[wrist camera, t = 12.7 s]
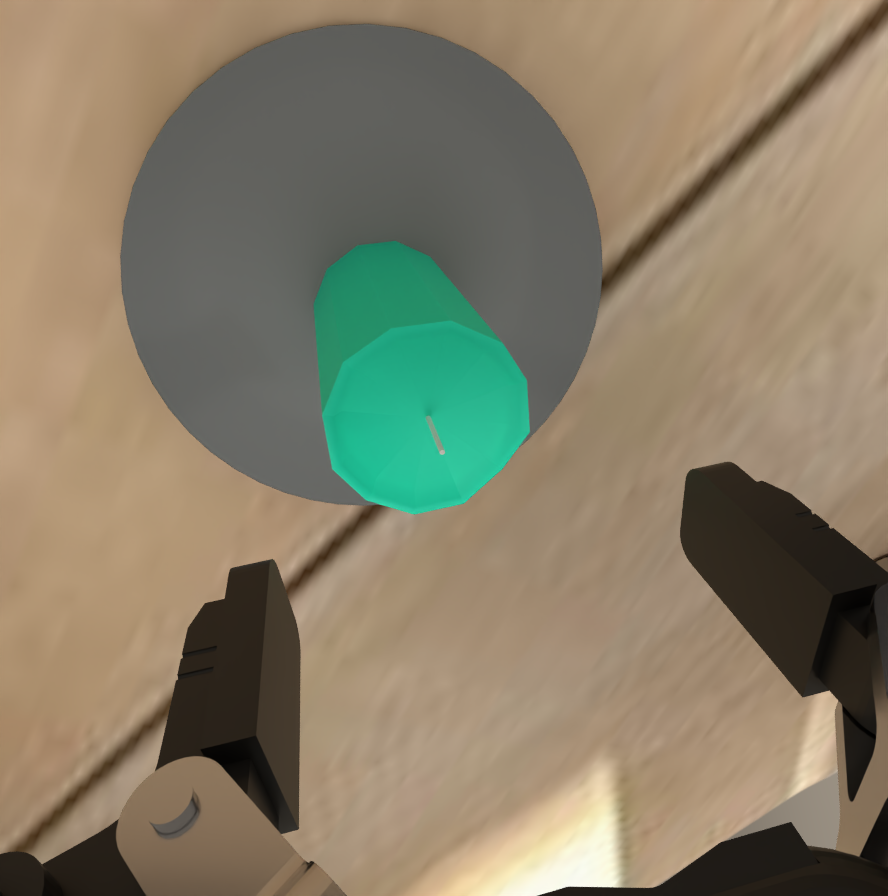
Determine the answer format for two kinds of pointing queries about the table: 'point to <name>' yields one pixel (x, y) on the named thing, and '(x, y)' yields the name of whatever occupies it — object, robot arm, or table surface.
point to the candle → (412, 382)
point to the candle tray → (346, 230)
